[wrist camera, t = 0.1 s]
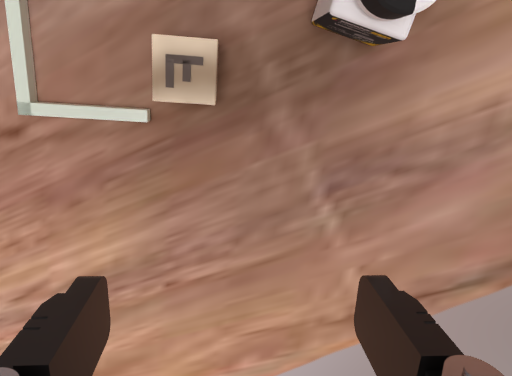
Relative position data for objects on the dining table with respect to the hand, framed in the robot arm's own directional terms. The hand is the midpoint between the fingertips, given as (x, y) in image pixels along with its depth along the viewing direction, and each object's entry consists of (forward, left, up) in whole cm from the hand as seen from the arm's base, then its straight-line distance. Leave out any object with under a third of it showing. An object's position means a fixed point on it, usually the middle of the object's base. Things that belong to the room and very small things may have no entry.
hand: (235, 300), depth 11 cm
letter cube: (-7, -4, -29) cm, 30 cm away
